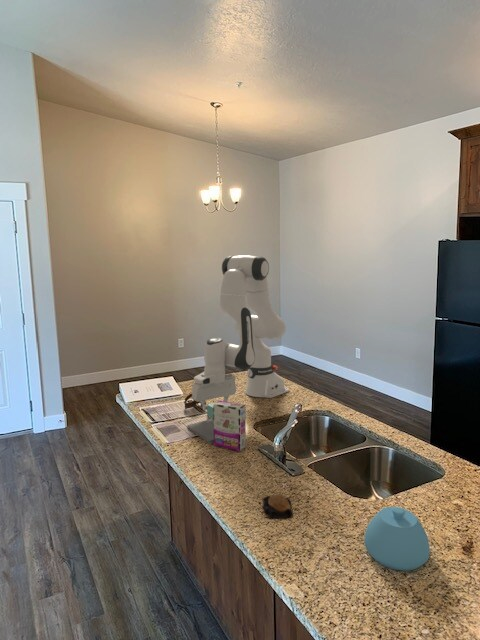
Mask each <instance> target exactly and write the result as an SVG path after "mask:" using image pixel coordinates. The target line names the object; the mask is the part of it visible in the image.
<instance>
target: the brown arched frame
mask: <svg viewBox="0 0 480 640" xmlns="http://www.w3.org/2000/svg"><path fill="white" fill-rule="evenodd" d="M189 399H192V401H190V402H188V400H189ZM183 403H184V409H185V410H187V409H191V408H198V406H197V405H199V404H200V406H201V407H203V405H202V404H201V402H200V401H199V402H197V401H195V400H193V398H192V392H191V393H190V394H188V395H187V396H185V398H184V402H183ZM205 405H207V403H206V401H205Z"/></svg>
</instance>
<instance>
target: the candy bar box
mask: <svg viewBox="0 0 480 640" xmlns="http://www.w3.org/2000/svg"><path fill="white" fill-rule="evenodd" d="M214 403H215V404H213V410H214V443H213V446H214V447H217V448H221V449H225V450H231V451H235V452H237V453H239V452H240V453H241V452H242V451H243V450H244V449H246V447H247V446H246V444H247V443H246V442H247V441H246V440H247V439H246V432H247V431H246V427H247V426H246V424H247V421H246V410H247V409H246V408H247V407H246V404H243V403H236V402H231V401H227V402H226V401H223V400H218V401H217V402H214Z"/></svg>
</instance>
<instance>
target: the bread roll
mask: <svg viewBox="0 0 480 640" xmlns="http://www.w3.org/2000/svg"><path fill="white" fill-rule="evenodd" d="M261 502H262V510H263V513H264V514H265V517H266V518H267V519H268V520H288V519H293V517H294V515H293V510H292V502H291V499H290V498H288V497H286V496H283V495H280V494H271V495H268V496H265V497H263V498H262V501H261Z"/></svg>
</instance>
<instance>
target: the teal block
mask: <svg viewBox="0 0 480 640" xmlns="http://www.w3.org/2000/svg"><path fill="white" fill-rule="evenodd" d="M215 403H216V402H212V403H208V404H207V403H206V405H207V406H208V407H207V408H208V409H207V410H206V415H207V416H208V417H209V418H211V419H214V410H213V404H215Z"/></svg>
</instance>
